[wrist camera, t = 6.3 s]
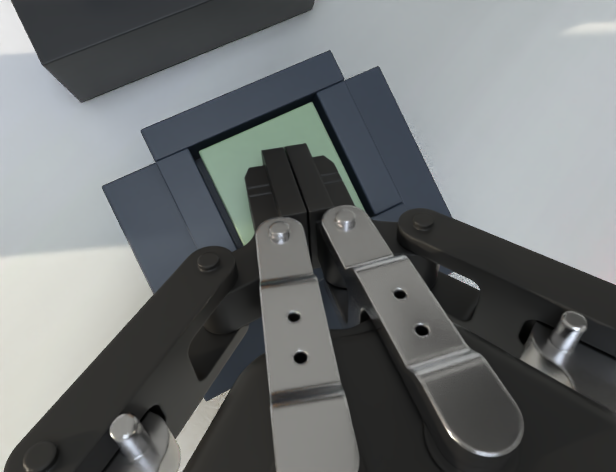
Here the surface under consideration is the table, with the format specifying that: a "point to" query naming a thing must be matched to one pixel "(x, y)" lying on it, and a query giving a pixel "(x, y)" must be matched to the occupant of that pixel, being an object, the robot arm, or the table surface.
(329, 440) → the robot arm
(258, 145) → the sage key
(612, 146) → the table surface
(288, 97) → the slate blue button base
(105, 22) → the charcoal button base
